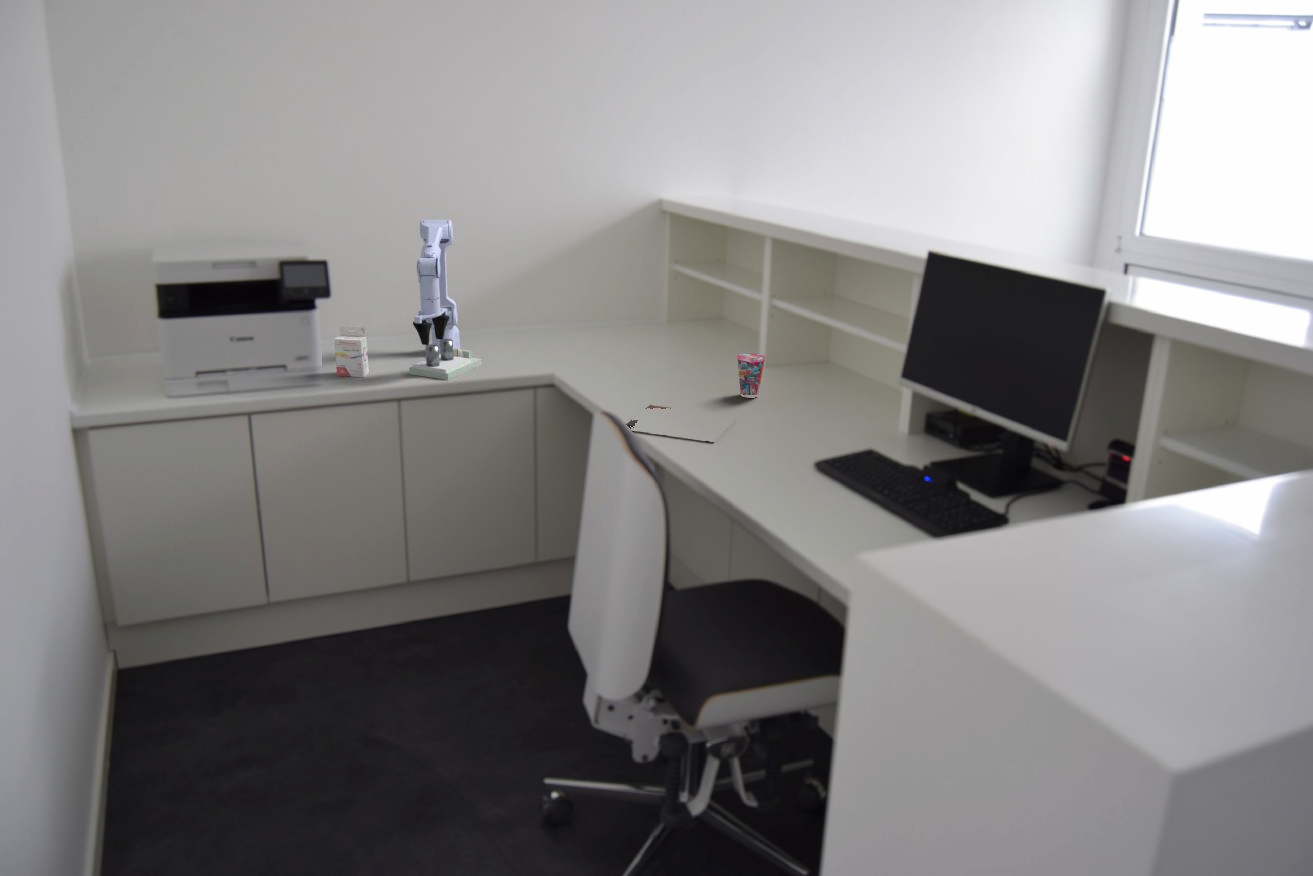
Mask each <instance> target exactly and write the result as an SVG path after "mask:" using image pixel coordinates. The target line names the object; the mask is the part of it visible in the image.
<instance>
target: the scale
mask: <svg viewBox="0 0 1313 876" xmlns="http://www.w3.org/2000/svg"><path fill="white" fill-rule="evenodd" d="M453 354H454V359H453V360H450V361H443V360H441V355H440V354H439V361H440V365H439V366H435V367H430V366H427V365H426V359H424V360H421V361H419V362H416V363H414V364H412V366H410V367H409V368H408V369H409V370H408V371H409V375H412V376H420V377H425V378H432V379H440V380H446V381H449V380H451V379H453V377H454V378H456V377H457V376H460V375H463V374H464V373H467V372H469V371H471V370H473V369H476V368H478V367H480V366H482V358H477V357H473V350H470V349H463V348H460V349H457V348H453Z"/></svg>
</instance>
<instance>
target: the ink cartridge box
mask: <svg viewBox="0 0 1313 876" xmlns="http://www.w3.org/2000/svg"><path fill="white" fill-rule="evenodd" d="M352 330H353V331H352ZM339 333H340V335H338V336H337V337H335V338H334V341H333V342H334V351H335V353H334V354H335V355H334V356H335V365H336V376H337V377H338V376H339V377H354V378H364V377H365V376H367V375H368V374H369V373H370V372H369V371H370V368H369V356H368V340H367V335H366V328H365V327H364V326H353V325H352V326H351V325H340V326H339Z"/></svg>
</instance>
